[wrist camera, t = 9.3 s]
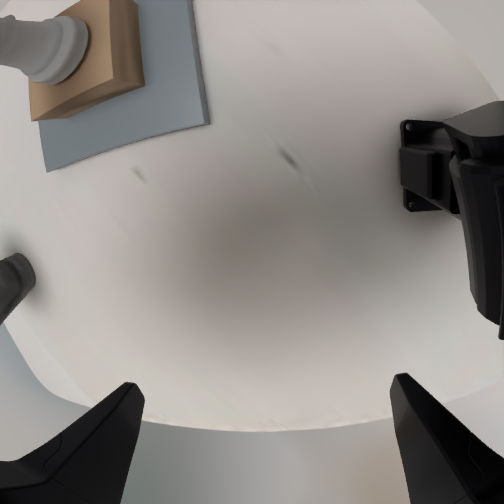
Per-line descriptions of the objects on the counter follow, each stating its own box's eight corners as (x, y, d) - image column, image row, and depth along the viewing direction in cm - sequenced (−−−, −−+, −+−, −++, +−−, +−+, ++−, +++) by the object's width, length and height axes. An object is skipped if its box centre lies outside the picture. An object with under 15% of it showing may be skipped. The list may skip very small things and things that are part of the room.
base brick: (137, 4, 12) (109, -16, 8) (145, 86, 15) (113, 78, 11) (62, 42, 13) (29, 35, 9) (67, 118, 16) (31, 121, 12)
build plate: (187, -34, 12) (181, -43, 10) (209, 123, 17) (204, 123, 16) (46, 33, 14) (36, 30, 12) (57, 169, 19) (46, 172, 18)
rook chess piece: (39, 43, 10) (-53, 36, 3) (90, 7, 9) (-5, -27, 2) (44, 97, 12) (-60, 108, 4) (96, 62, 11) (-18, 45, 4)
